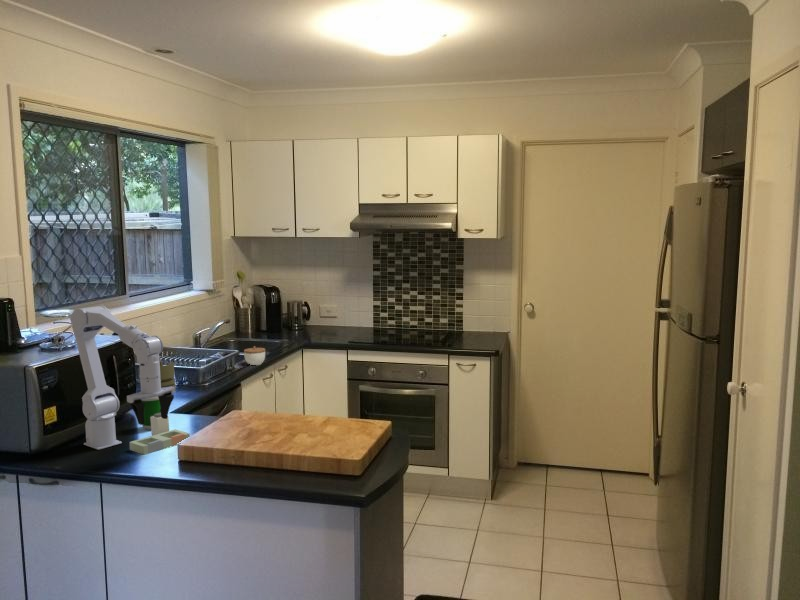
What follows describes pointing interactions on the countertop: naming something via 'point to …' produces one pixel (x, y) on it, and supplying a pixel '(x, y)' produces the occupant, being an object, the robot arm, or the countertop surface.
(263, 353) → the lidded jar
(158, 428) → the plug
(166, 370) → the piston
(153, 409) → the soda can
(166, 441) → the socket block
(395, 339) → the countertop surface
